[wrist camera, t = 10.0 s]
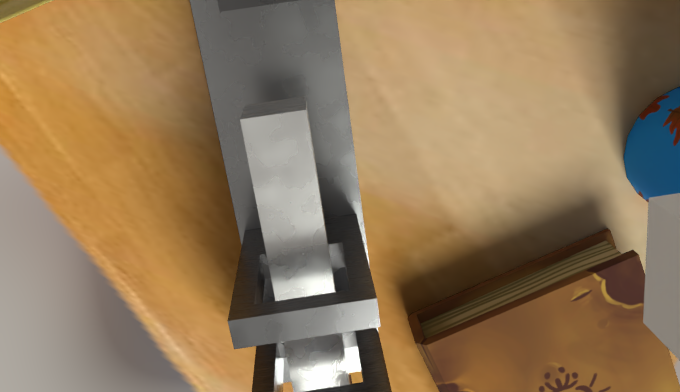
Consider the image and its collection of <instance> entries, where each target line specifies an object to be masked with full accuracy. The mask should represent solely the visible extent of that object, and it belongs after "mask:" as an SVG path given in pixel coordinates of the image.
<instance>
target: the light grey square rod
mask: <svg viewBox="0 0 680 392" xmlns="http://www.w3.org/2000/svg"><path fill="white" fill-rule="evenodd" d="M240 122H241V127H242V132H243V137H244V143H245V148H246V153H247V158H248V163H249V168H250V173H251V178H252V183H253V188H254V193H255V199H256V204H257V209H258V214H259V219H260V224H261V229H262V234H263V239H264V244H265V249H266V254H267V260H268V265H269V270H270V275H271V280H272V285H273V290H274V295H275V300H276V301H280V300H287V299H293V298H300V297H306V296H313V295H319V294H326V293H332V292H336V290H335V284H334V277H333V271H332V264H331V258H330V251H329V245H328V239H327V232H326V226H325V219H324V213H323V207H322V200H321V194H320V187H319V181H318V175H317V168H316V162H315V155H314V149H313V142H312V136H311V130H310V123H309V117H308V110H307V104H306V98H305V96H304V97H297V98H290V99H283V100H277V101H270V102H263V103H256V104H250V105H245V107H244V109H243V112H242V115H241V118H240ZM284 346H285V351H286V356H287V361H288V366H289V371H290V376H291V382H292V387H293V392H303V391H310V390H316V389H323V388H329V387H336V386H342V385H349V384H352V380H351V375H349V373H348V367H347V360H346V354H345V348H344V341H343V335H342V333H337V334H330V335H324V336H317V337H311V338H304V339H298V340H291V341H285V342H284Z"/></svg>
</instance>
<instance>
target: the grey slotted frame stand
mask: <svg viewBox="0 0 680 392" xmlns="http://www.w3.org/2000/svg"><path fill="white" fill-rule="evenodd" d="M190 4H191V8H192V13H193V18H194V22H195V27H196V32H197V37H198V41H199V46H200V51H201V56H202V60H203V65H204V70H205V75H206V79H207V84H208V89H209V93H210V98H211V103H212V108H213V112H214V117H215V122H216V127H217V131H218V136H219V141H220V145H221V150H222V155H223V160H224V164H225V169H226V174H227V179H228V183H229V188H230V193H231V198H232V202H233V207H234V212H235V216H236V221H237V226H238V231H239V235H240V240H241V245H242V248H241V253H240V259H239V264H238V269H237V274H236V280H235V285H234V290H233V296H232V301H231V306H230V312H229V317H228V324H229V329H230V333H231V337H232V342H233V346H234V349H239V348H246V347H252V346H256V355H255V365H254V375H253V385H252V392H283V383H285V382H291V376H290V371H289V366H288V361H287V356H286V351H285V346H284V342H285V341H291V340H298V339H304V338H311V337H317V336H324V335H330V334H337V333H342V335H343V341H344V348H345V354H346V360H347V367H348V373H350V372H356V371H361V372H362V378H363V382H361V383H355V384H349V385H342V386H336V387H329V388H323V389H316V390H310V391H303V392H392V391H391V387H390V382H389V378H388V373H387V369H386V364H385V360H384V356H383V351H382V347H381V342H380V338H379V333H378V327H381V326H380V318H379V311H378V303H377V297H376V293H375V288H374V284H373V280H372V276H371V272H370V266H369V259H368V251H367V243H366V236H365V228H364V221H363V213H362V205H361V198H360V190H359V183H358V175H357V167H356V160H355V152H354V145H353V137H352V129H351V122H350V114H349V107H348V99H347V92H346V84H345V76H344V69H343V61H342V54H341V46H340V38H339V31H338V23H337V16H336V8H335V0H190ZM304 96H305V98H306V104H307V110H308V117H309V123H310V130H311V136H312V142H313V149H314V155H315V162H316V168H317V175H318V181H319V187H320V194H321V200H322V207H323V213H324V219H325V226H326V232H327V239H328V245H329V251H330V258H331V264H332V271H333V277H334V284H335V290H336V292H332V293H326V294H319V295H313V296H306V297H300V298H293V299H287V300H280V301H276V300H275V295H274V290H273V285H272V280H271V275H270V270H269V265H268V260H267V254H266V249H265V244H264V239H263V234H262V229H261V224H260V219H259V214H258V209H257V204H256V199H255V193H254V188H253V183H252V178H251V173H250V168H249V163H248V158H247V153H246V148H245V143H244V137H243V132H242V127H241V122H240V118H241V115H242V112H243V109H244V107H245V105H250V104H256V103H263V102H270V101H277V100H283V99H290V98H297V97H304Z"/></svg>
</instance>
